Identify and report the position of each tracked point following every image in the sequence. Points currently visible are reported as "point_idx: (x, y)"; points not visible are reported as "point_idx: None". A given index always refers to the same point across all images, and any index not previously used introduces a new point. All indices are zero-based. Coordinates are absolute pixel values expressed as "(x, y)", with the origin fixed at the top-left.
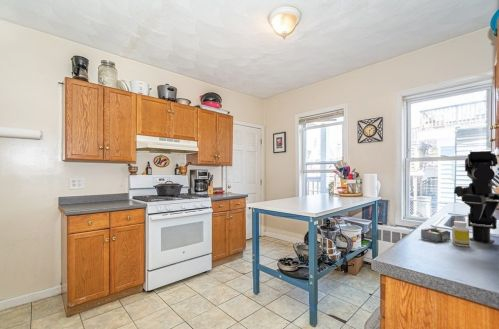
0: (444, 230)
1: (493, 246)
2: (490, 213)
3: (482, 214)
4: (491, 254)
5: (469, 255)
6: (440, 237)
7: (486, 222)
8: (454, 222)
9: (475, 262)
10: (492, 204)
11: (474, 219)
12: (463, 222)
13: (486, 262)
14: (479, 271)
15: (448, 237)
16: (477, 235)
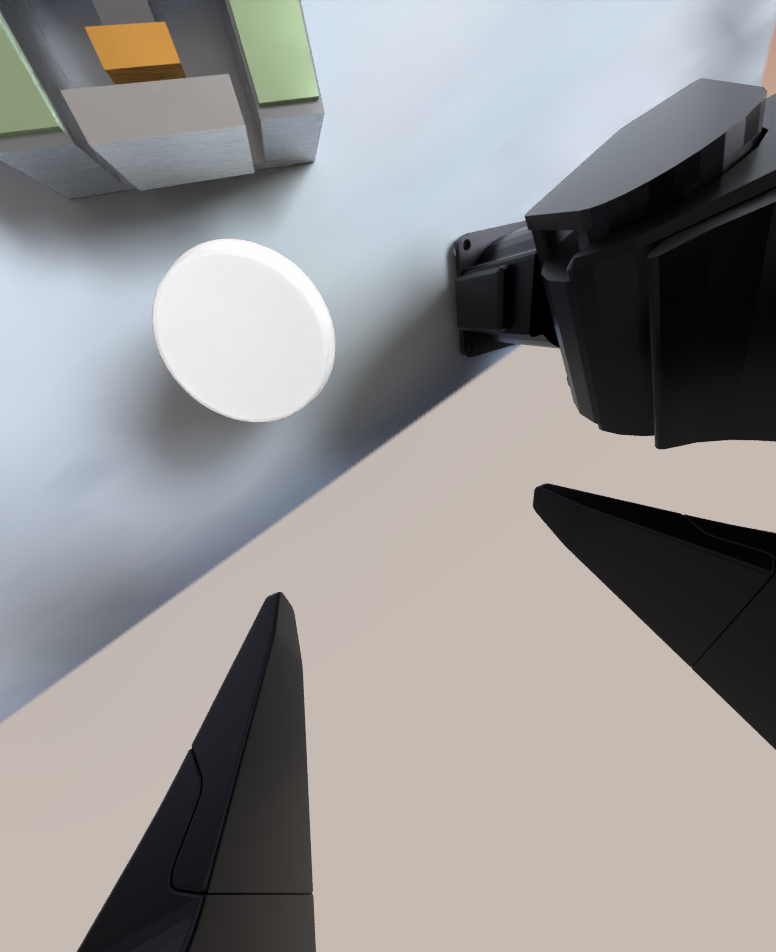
0: (202, 85)
1: (435, 403)
2: (580, 543)
3: (652, 385)
4: (281, 507)
5: (125, 520)
6: (101, 168)
7: (571, 385)
8: (159, 298)
9: (66, 602)
10: (752, 673)
11: (565, 303)
12: (265, 394)
13: (136, 595)
14: None
15: (279, 154)
16: (476, 307)
